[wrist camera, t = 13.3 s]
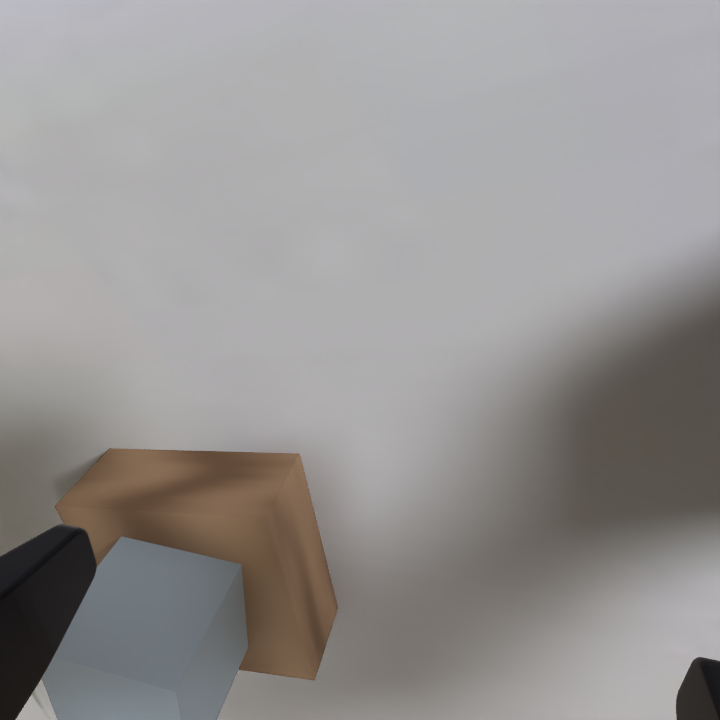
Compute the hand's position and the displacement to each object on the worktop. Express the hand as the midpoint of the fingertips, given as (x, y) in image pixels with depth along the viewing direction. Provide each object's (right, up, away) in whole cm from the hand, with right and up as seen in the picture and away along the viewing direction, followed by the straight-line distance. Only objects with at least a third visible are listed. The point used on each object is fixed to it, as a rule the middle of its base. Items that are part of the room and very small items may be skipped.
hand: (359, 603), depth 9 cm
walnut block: (-6, -4, +19) cm, 20 cm away
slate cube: (-7, -6, +15) cm, 18 cm away
